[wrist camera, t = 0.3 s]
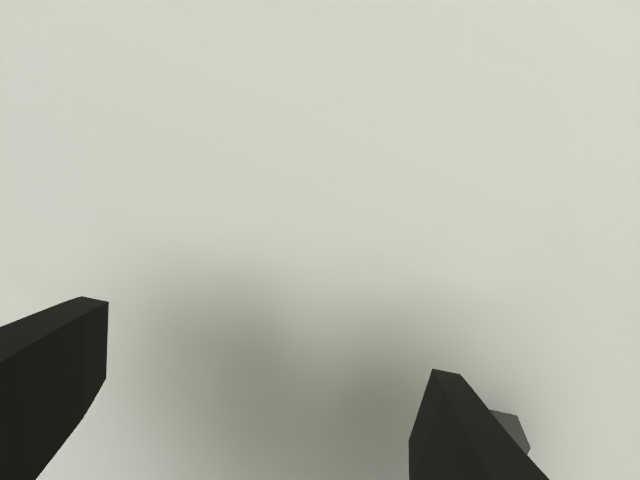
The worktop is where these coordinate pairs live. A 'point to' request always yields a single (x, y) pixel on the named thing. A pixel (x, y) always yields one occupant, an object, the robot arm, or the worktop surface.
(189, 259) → the worktop surface
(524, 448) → the plug
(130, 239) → the worktop surface
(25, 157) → the worktop surface
